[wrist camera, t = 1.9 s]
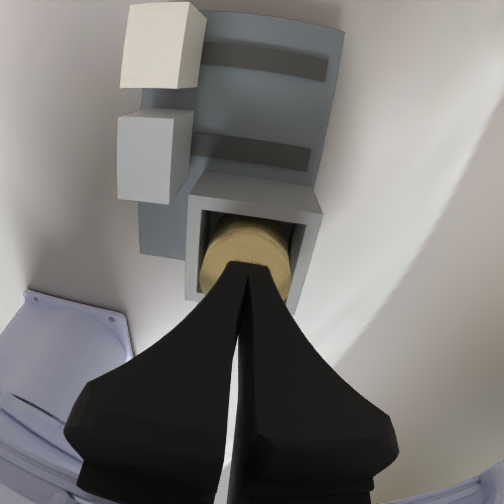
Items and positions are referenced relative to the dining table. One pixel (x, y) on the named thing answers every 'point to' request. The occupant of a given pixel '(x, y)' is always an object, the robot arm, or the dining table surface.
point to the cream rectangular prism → (162, 46)
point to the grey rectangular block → (153, 154)
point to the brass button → (247, 249)
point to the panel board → (249, 139)
